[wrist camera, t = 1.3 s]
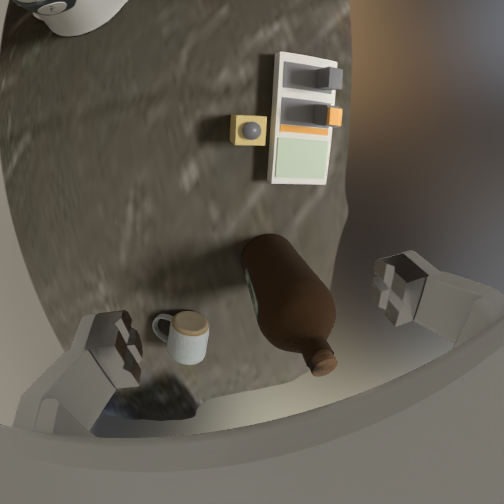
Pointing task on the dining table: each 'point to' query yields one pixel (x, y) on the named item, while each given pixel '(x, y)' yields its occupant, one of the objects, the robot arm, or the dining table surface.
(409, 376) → the robot arm
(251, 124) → the tan block with knob
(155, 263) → the dining table surface
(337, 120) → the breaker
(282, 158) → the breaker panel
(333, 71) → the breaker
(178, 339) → the ceramic mug
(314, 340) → the olive oil
